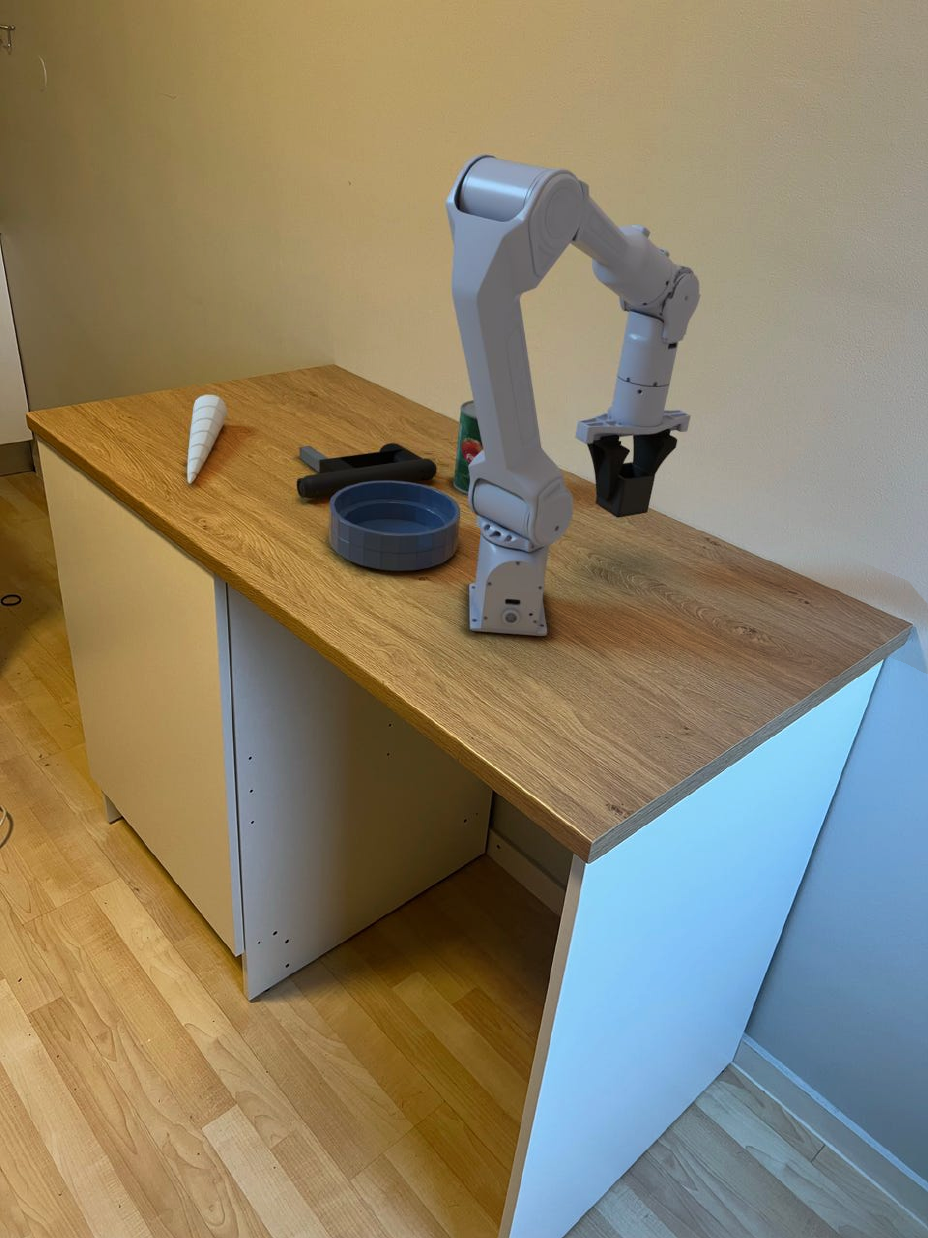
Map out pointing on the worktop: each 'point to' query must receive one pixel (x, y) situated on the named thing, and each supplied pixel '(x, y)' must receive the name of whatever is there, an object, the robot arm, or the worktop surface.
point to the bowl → (393, 525)
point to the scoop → (630, 492)
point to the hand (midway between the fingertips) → (620, 494)
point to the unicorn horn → (204, 431)
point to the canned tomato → (466, 445)
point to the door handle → (361, 469)
